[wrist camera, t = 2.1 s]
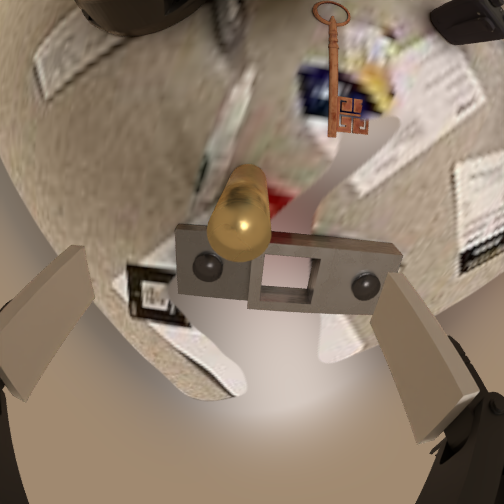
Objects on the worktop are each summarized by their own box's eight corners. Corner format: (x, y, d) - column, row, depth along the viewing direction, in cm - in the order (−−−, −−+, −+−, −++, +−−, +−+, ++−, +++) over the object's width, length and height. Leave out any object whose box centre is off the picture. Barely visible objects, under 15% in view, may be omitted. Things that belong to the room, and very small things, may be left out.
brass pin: (230, 162, 27) (207, 200, 15) (268, 165, 27) (274, 205, 15) (228, 197, 28) (206, 259, 17) (264, 200, 28) (267, 264, 17)
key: (365, 140, 26) (365, 10, 19) (368, 141, 25) (368, 8, 18) (311, 135, 25) (311, -1, 19) (313, 135, 25) (313, -4, 18)
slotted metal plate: (178, 223, 30) (169, 237, 26) (392, 243, 30) (405, 258, 27) (181, 286, 33) (173, 304, 30) (374, 300, 34) (383, 318, 30)
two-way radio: (465, 39, 18) (555, 27, 4) (451, 57, 19) (548, 49, 6) (433, 4, 16) (517, -28, 3) (418, 21, 18) (508, -12, 5)
